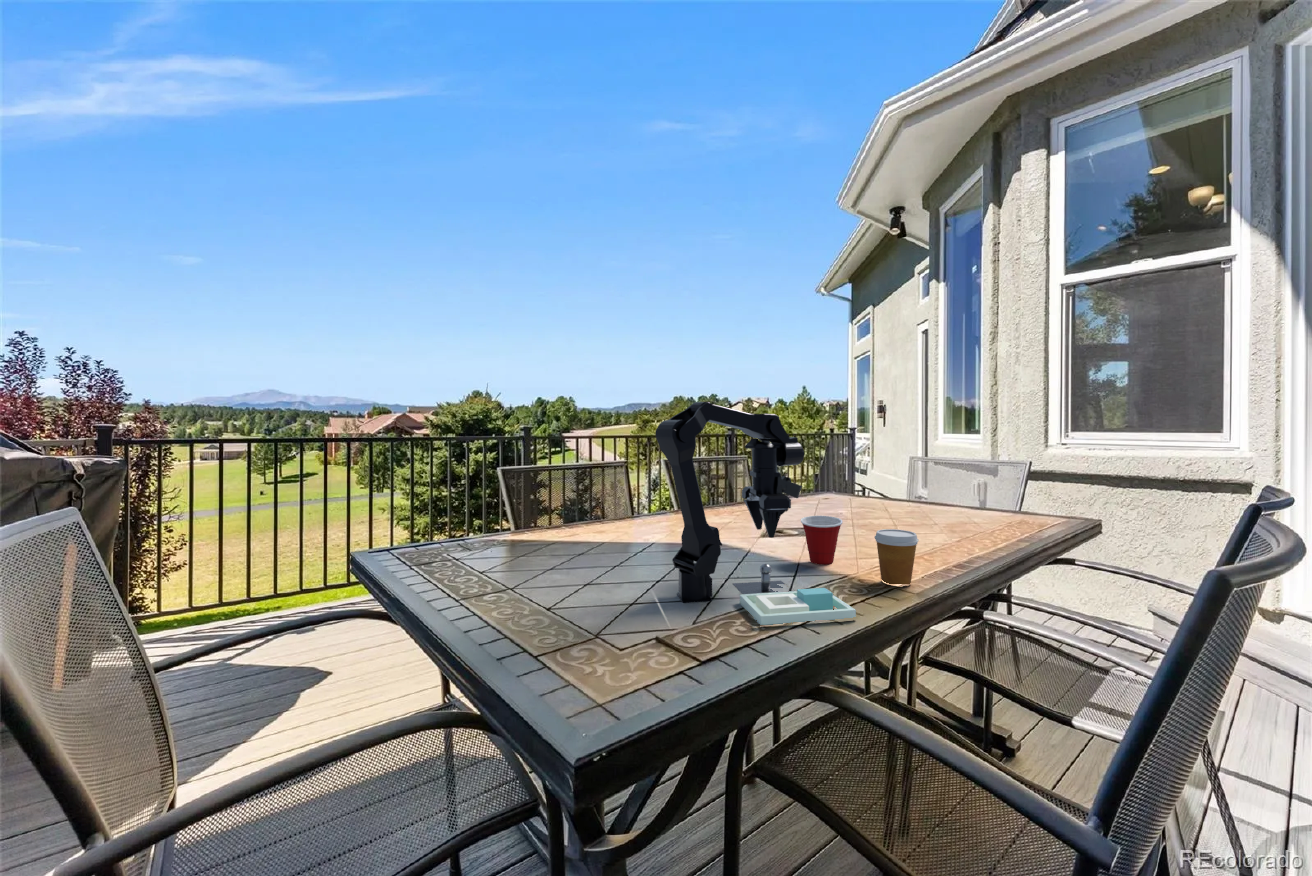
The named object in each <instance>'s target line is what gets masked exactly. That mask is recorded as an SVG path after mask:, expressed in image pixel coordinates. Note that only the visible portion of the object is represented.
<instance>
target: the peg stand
mask: <svg viewBox="0 0 1312 876" xmlns="http://www.w3.org/2000/svg"><path fill="white" fill-rule="evenodd" d="M772 570H773V569H772V566H771V565H770V564H768V563H762V564H761V566H760V568H759V572H760V575H761V576H760V581H752V582H751V581H750V582H737V583H736V582H735V583H734V582H733V583H732V585H733V586H734V587H735V588H736V589H737V590H738V591H739V593H741V594H757V593H773V592H775V591H773V590H772V589H770V588H783V587H781V586H779V585H777V584H786V583H785V582H784V581H782V580H771V573H772ZM776 592H778V591H776Z"/></svg>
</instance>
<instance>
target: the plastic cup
mask: <svg viewBox="0 0 1312 876" xmlns="http://www.w3.org/2000/svg"><path fill="white" fill-rule="evenodd" d="M800 523H801V524H802V527H803V530H804V531H803V532H804V536H805V541H806V546H807V551H808V556H809V561H810V564H811V563H812V564H815V565H821V566H825V565H827V566H828V565H833V564H834V562H835V561H834V559H835V554H836V550H837V546H838V545H837V544H838V539H839V533H840V529H841V526H842V524H843V519H841V518H840V517H837V516H829V515H809V516H804V517H802V518H801V519H800ZM832 563H833V564H832Z"/></svg>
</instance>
